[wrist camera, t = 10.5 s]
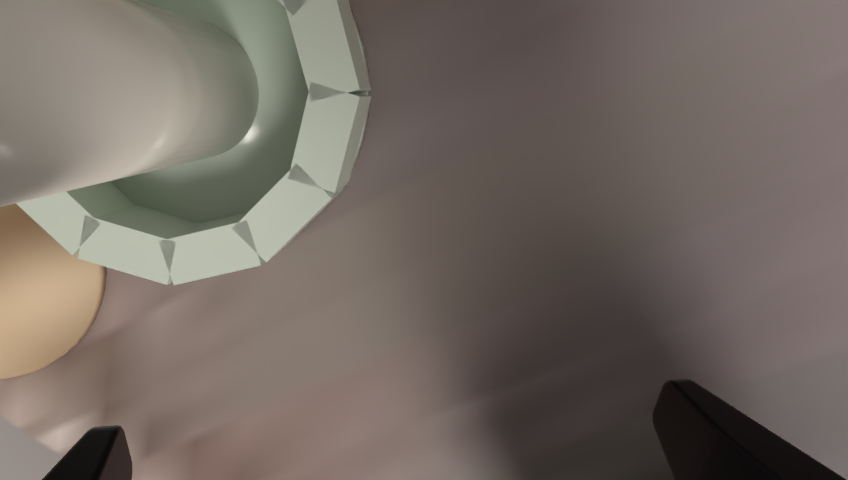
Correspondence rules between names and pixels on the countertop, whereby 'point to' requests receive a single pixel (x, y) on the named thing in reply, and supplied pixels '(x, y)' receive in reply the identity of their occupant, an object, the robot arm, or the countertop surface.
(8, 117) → the white dome-topped cylinder
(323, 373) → the countertop surface
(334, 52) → the bowl
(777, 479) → the robot arm
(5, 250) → the cork mat
